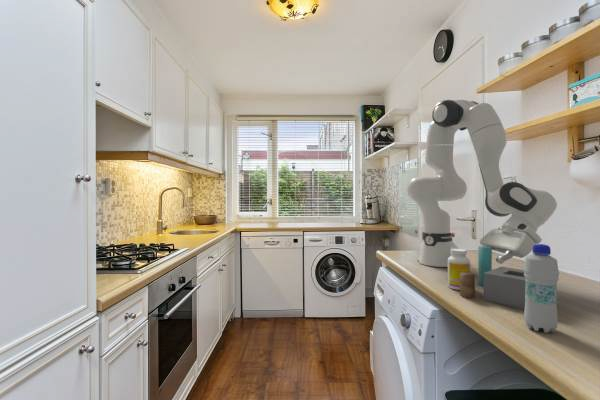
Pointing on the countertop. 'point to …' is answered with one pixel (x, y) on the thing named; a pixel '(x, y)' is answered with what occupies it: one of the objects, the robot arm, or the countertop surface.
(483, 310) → the countertop surface
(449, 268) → the supplement bottle
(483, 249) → the long pin
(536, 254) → the bottle
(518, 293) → the hole block
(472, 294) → the short pin
